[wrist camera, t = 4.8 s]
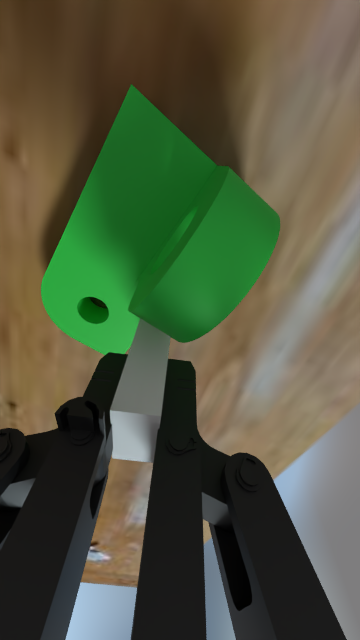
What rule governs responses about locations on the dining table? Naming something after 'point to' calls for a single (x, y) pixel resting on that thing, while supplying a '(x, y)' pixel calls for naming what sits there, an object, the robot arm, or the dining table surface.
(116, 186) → the mechanical part
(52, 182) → the dining table surface
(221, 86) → the dining table surface
